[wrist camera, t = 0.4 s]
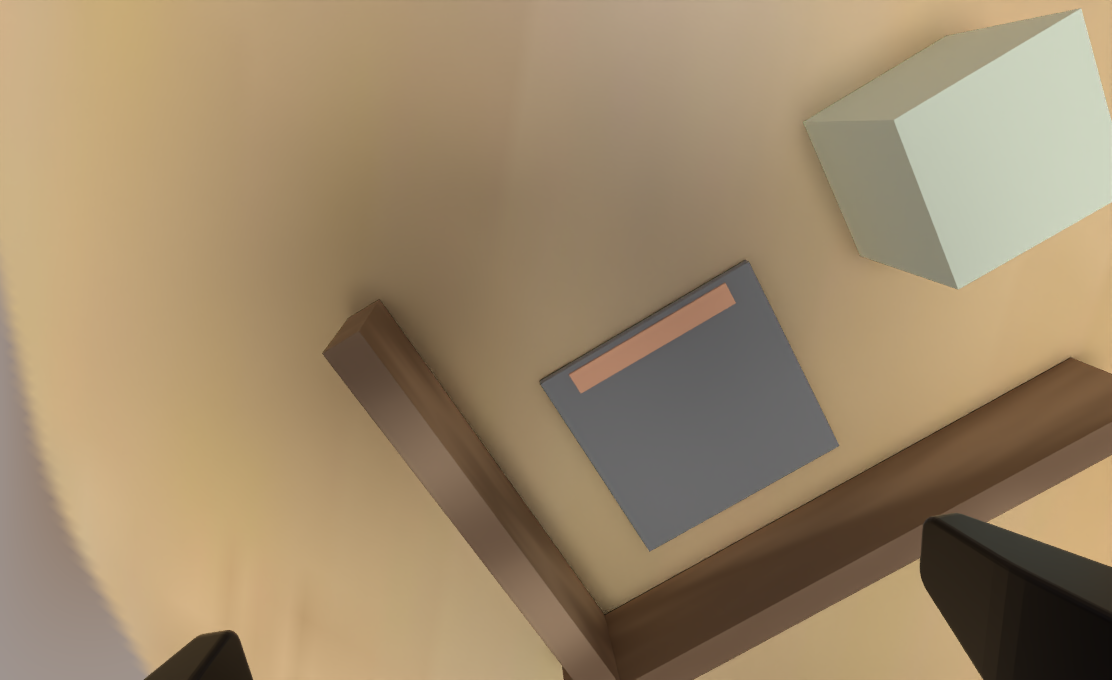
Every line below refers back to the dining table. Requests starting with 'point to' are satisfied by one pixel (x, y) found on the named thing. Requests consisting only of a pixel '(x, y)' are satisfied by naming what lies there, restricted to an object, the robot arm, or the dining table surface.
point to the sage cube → (971, 149)
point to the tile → (693, 407)
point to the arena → (750, 564)
